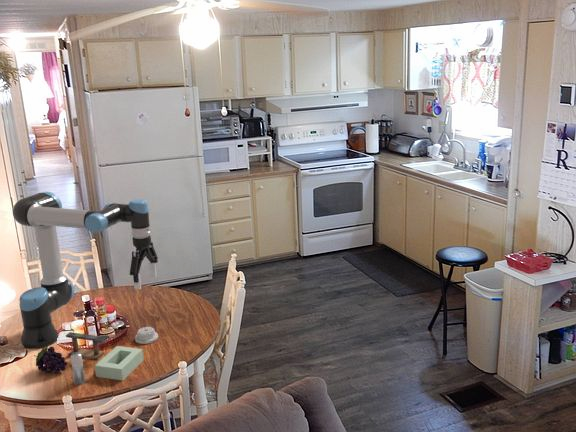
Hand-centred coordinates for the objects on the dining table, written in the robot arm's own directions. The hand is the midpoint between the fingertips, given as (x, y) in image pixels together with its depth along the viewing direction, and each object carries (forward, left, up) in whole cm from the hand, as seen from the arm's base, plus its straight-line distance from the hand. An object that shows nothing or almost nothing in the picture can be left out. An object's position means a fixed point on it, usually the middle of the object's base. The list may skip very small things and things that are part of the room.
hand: (145, 282), depth 243 cm
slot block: (-1, -24, -28) cm, 37 cm away
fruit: (-28, -32, -28) cm, 51 cm away
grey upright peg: (-11, -37, -28) cm, 47 cm away
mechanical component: (-3, +1, -28) cm, 28 cm away
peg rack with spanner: (-20, -18, -27) cm, 38 cm away
